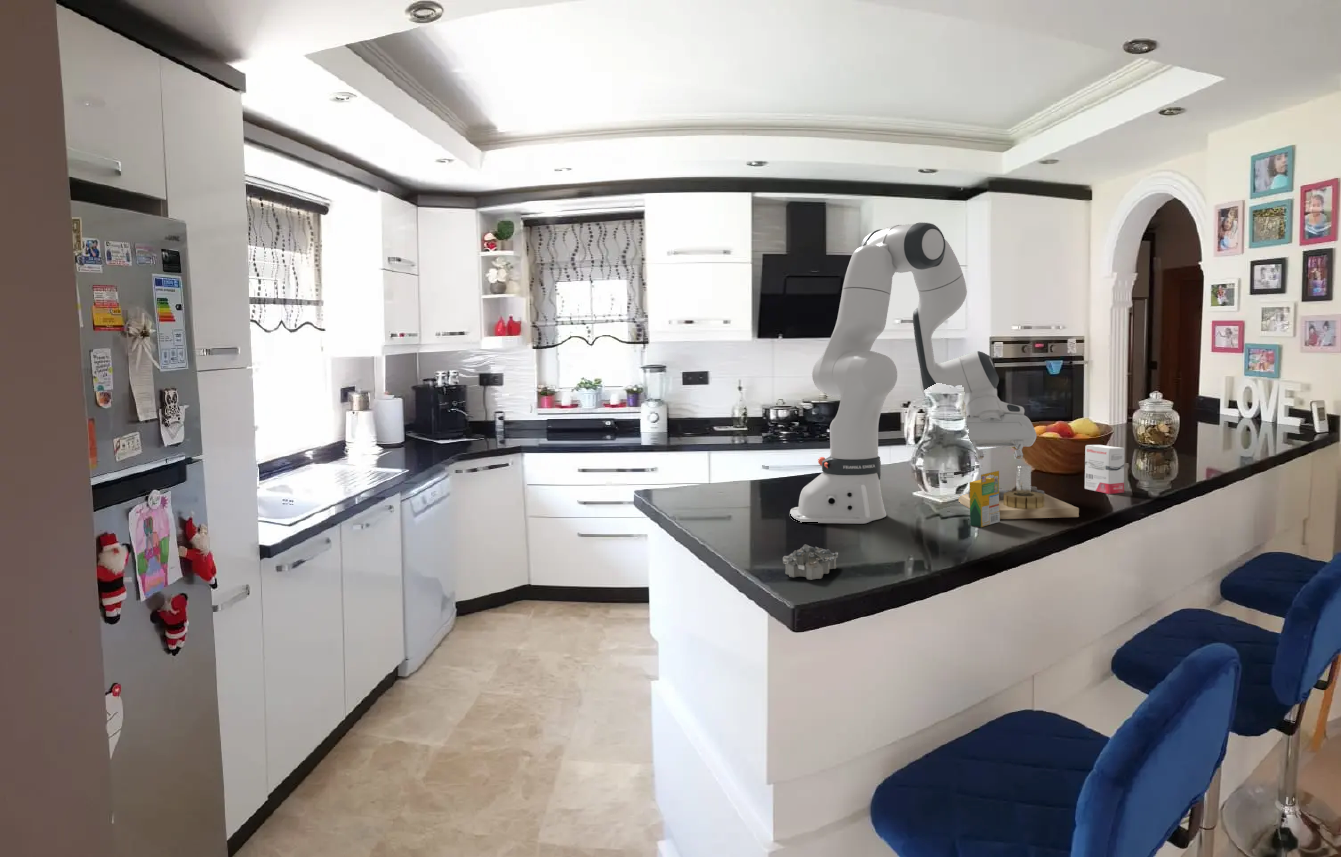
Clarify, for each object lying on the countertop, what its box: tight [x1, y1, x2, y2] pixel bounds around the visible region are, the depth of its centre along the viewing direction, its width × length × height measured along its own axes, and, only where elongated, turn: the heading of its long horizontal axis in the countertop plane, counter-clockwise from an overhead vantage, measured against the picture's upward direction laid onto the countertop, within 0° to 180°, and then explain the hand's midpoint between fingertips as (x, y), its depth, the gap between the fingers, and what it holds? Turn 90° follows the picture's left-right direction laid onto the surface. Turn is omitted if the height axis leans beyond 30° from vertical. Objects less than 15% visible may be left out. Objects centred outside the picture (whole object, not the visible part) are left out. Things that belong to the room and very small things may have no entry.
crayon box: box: [969, 470, 1001, 528], centre depth 165 cm, size 7×3×12 cm, turn 126°
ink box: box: [1084, 444, 1125, 495], centre depth 195 cm, size 8×5×12 cm, turn 13°
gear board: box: [958, 485, 1080, 520], centre depth 178 cm, size 20×20×4 cm
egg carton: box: [782, 544, 839, 581], centre depth 136 cm, size 11×8×4 cm
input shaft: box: [1015, 465, 1032, 496], centre depth 173 cm, size 3×3×9 cm
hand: (999, 457), depth 185 cm, fingers open, 8 cm apart
